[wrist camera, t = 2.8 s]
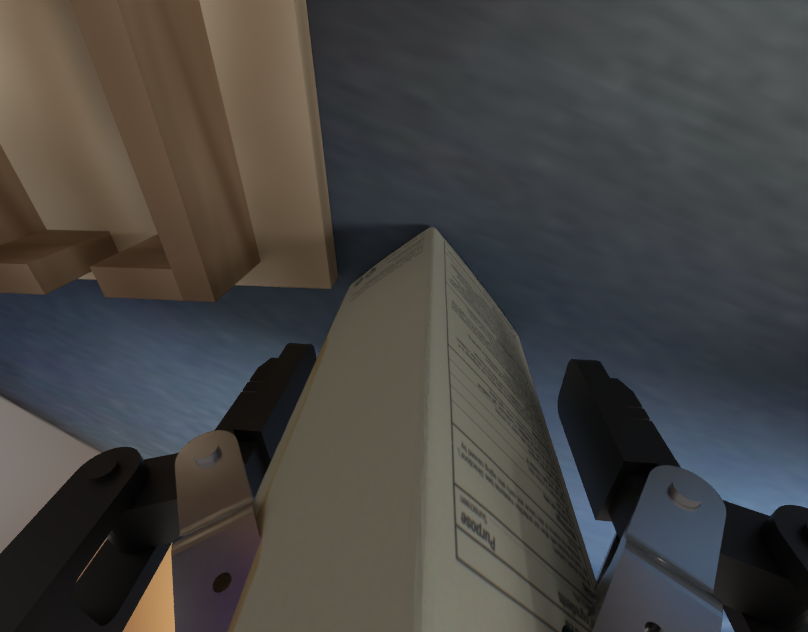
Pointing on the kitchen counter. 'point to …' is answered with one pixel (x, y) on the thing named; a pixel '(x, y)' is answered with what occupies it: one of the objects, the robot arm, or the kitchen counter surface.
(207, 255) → the frame
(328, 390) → the skincare box
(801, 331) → the kitchen counter surface
